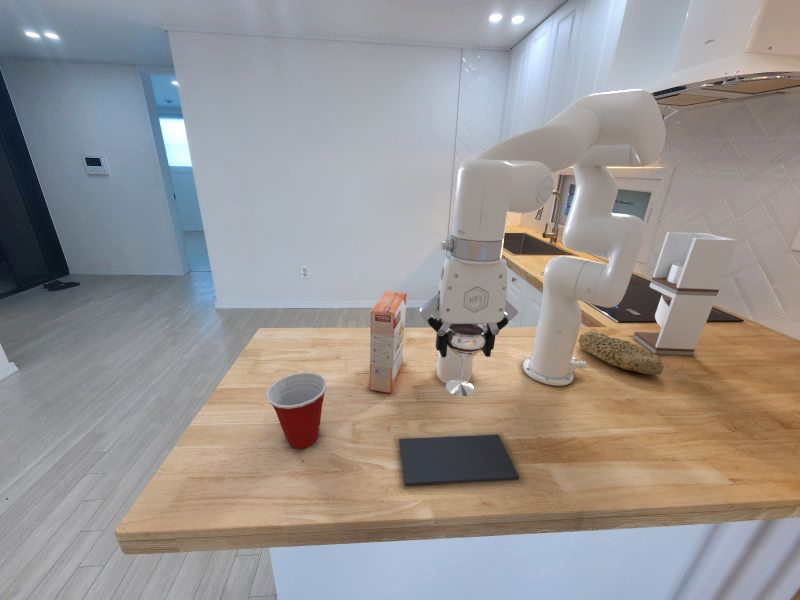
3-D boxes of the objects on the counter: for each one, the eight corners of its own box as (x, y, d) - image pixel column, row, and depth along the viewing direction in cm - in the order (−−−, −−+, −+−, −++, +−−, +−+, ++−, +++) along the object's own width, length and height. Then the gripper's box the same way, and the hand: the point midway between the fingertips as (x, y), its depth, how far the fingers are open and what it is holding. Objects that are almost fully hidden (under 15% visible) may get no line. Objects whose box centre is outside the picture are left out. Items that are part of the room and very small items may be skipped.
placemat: (497, 436, 68) (498, 434, 67) (518, 479, 58) (519, 476, 58) (399, 441, 66) (399, 438, 65) (404, 486, 56) (404, 483, 56)
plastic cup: (296, 412, 72) (291, 364, 68) (340, 427, 69) (338, 377, 64) (259, 448, 63) (251, 395, 58) (308, 467, 59) (303, 412, 55)
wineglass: (486, 388, 59) (496, 327, 55) (464, 405, 55) (472, 340, 50) (456, 372, 64) (462, 314, 59) (432, 386, 59) (437, 325, 55)
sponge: (571, 353, 103) (632, 377, 84) (577, 328, 102) (640, 347, 83) (604, 355, 107) (669, 380, 88) (610, 332, 106) (677, 351, 87)
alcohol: (429, 376, 87) (438, 263, 76) (450, 363, 92) (460, 257, 81) (457, 391, 81) (471, 272, 70) (477, 377, 87) (493, 265, 76)
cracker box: (393, 394, 79) (395, 313, 71) (368, 390, 80) (368, 310, 72) (404, 363, 92) (407, 291, 84) (383, 360, 93) (384, 289, 85)
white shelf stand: (667, 338, 111) (705, 233, 99) (692, 355, 102) (739, 240, 89) (633, 337, 112) (667, 231, 99) (655, 353, 102) (696, 238, 89)
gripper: (422, 254, 46) (415, 366, 52) (543, 255, 47) (522, 364, 54) (415, 242, 53) (410, 343, 59) (521, 244, 54) (504, 341, 61)
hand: (463, 352), depth 57 cm, fingers closed on wineglass, 6 cm apart
